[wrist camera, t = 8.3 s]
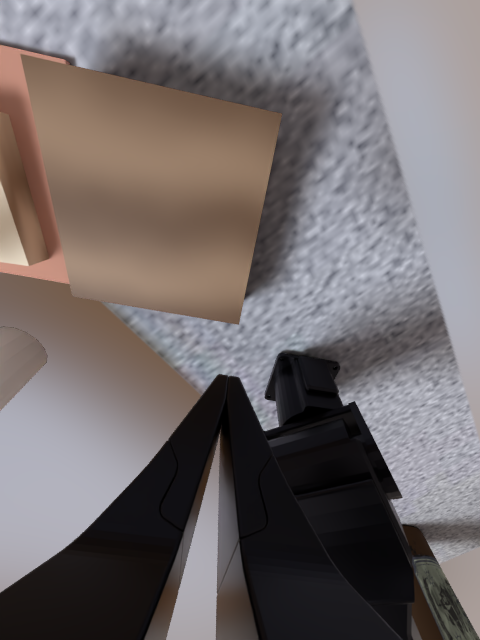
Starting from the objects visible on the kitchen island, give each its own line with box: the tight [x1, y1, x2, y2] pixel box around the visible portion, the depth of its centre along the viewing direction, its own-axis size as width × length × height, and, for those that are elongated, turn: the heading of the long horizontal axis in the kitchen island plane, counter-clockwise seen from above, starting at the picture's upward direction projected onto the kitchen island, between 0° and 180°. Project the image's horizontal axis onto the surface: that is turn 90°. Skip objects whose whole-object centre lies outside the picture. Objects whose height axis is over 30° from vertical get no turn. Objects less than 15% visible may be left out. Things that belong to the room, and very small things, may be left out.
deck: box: [20, 54, 282, 325], centre depth 15 cm, size 12×12×4 cm
